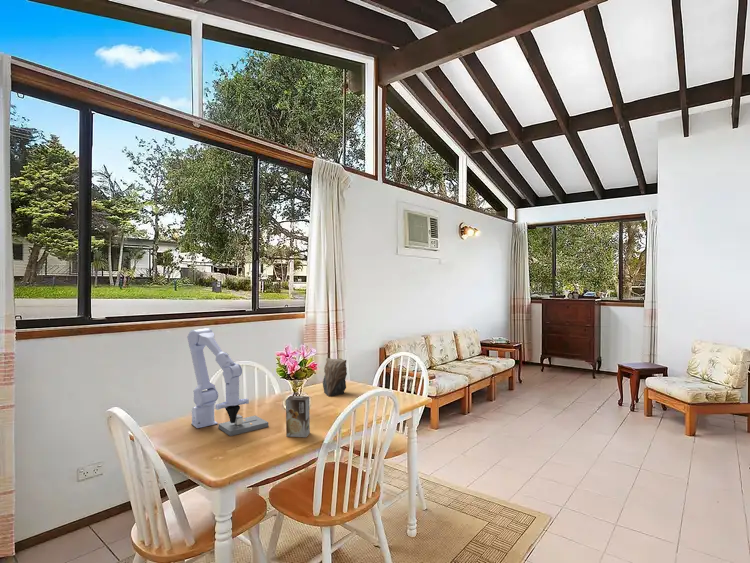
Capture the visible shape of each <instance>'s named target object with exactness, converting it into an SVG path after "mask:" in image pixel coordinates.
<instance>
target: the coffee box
mask: <svg viewBox="0 0 750 563" xmlns="http://www.w3.org/2000/svg"><path fill="white" fill-rule="evenodd" d="M310 417H311V416H310V396H308V395H307V396H306V395H303V396H301V395H289V396H288V397H287V398H286V399H285V422H286V423H285V430H286V431H285V433H286V434H285V435H286V436H285V437H288V438H289V437H292V438H295V437H296V438H308V436H309V435H310V433H311V430H310V429H311V428H310V427H311V426H310V425H311V424H310V422H311V421H310V420H311V419H310Z"/></svg>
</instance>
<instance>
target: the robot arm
mask: <svg viewBox="0 0 750 563" xmlns="http://www.w3.org/2000/svg"><path fill="white" fill-rule="evenodd" d="M186 338H187V341H188V346H189V347H188V348H189V351H190V355H191V359H192V364H193V369H194V374H195V378H196V379H195V380H196V384H197V386H196V387H195V388H194V390H193V403H194V404H195V405H196V406H193V407H192V408H191V409H192V410H191V425H192V426H194V427H195V428H196V429H199V428H205V427H208V426H213V425H218V424H219V423H218V421H216V420H215V410H218V411H219V410H221V409H225V412H226V413H227V414H228V418H229V421H230V422H231V423H235V419H236V416H237V415H238V414H239V412H240V409H241V405H248V404H250V403H249V401H250V400H249V398H241V399H240V376H241V375H242V374H243V368H242V366H241V365H240V364H239V363H237V362H234V360H233V359H232V358H231V356H230V354H228V353H227V351H223V350H222V349H221V347H220V345H219V344H218V342H217V341H216V339H215V332H213V330H212V329H211V328H210V327H207V328H206V327H205V328H199V329H191V330H190V331H189V333H188V335H187V337H186ZM205 347H206V348H208V349H209V350H210V351H211V353H212V354H213V355H214V356H215V362H216V363H217V365H218V366H219V367H220V369H221V370H222V376H223V378H224V383H225V401H224V402H221V403H217V401H218V399H219V392H218V390H217V388H216V385H215V384H214V383H212V382H210V376H209V372H208V367H207V363H206V358H205V354H204V348H205ZM216 403H217V404H216Z"/></svg>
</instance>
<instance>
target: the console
mask: <svg viewBox="0 0 750 563" xmlns="http://www.w3.org/2000/svg"><path fill="white" fill-rule="evenodd" d="M217 425H218V426H217V429H219V430H221V431H222V432H223V433H225V434H226V435H228V436H229V437H232V436H237V435H241V434H245V433H249V432H252V431H257V430H261V429H264V428H268V427H269V421H267V420H265V419H263V418H261V417H259V416H258V415H256V414H255V415H251V416H247V417H243V418H242V424H239V425H237V424H235V423H231V422H230V420H229V421H225V422H224V421H223V422H219V423H218V424H217Z"/></svg>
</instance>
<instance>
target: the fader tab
mask: <svg viewBox="0 0 750 563" xmlns="http://www.w3.org/2000/svg"><path fill="white" fill-rule="evenodd" d="M242 418H244V416H242V415H241V414H239V413H237V416H236V419H235V424H237V425H239V424H242Z"/></svg>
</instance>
